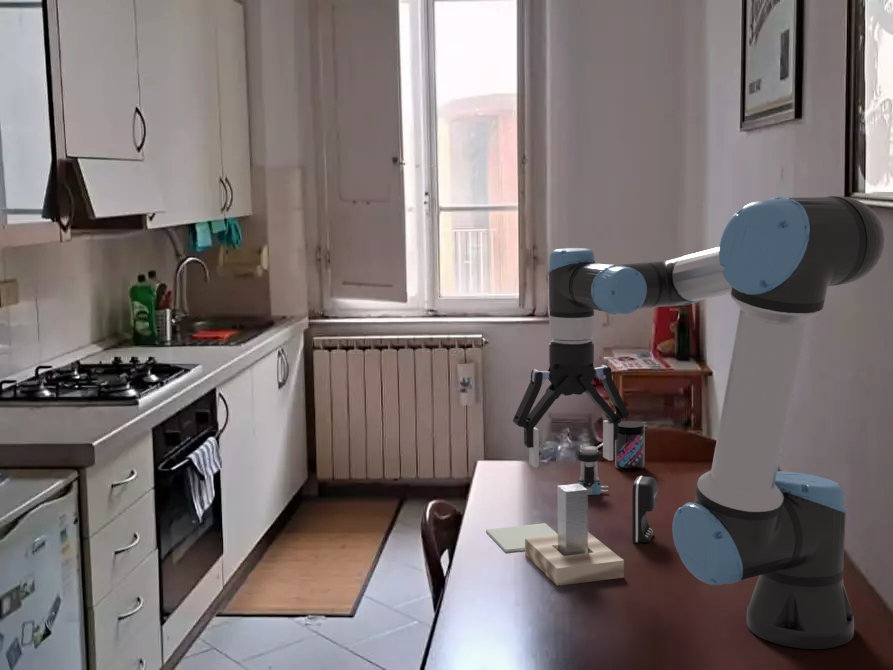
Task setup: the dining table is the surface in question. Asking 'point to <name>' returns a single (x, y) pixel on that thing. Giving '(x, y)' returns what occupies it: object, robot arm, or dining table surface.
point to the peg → (572, 519)
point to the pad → (518, 535)
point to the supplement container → (630, 446)
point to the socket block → (574, 561)
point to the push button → (590, 469)
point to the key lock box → (643, 507)
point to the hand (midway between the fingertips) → (571, 462)
